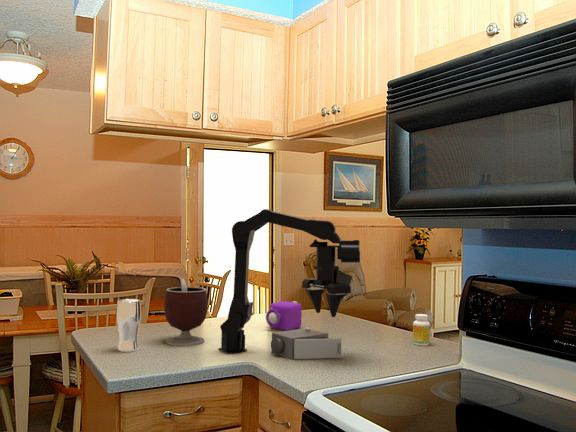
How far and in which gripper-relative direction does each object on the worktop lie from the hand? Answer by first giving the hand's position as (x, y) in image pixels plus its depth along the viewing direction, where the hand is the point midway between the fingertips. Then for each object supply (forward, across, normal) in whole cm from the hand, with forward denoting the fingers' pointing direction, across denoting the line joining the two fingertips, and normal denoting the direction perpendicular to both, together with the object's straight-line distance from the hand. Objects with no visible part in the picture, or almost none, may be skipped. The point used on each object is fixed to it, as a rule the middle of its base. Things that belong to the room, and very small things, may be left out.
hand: (325, 314), depth 167 cm
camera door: (+12, -2, +4) cm, 13 cm away
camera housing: (+12, +7, +6) cm, 15 cm away
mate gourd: (+12, +36, +32) cm, 49 cm away
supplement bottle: (+13, +1, -38) cm, 41 cm away
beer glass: (+12, +31, +51) cm, 61 cm away
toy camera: (+12, +42, -8) cm, 45 cm away
